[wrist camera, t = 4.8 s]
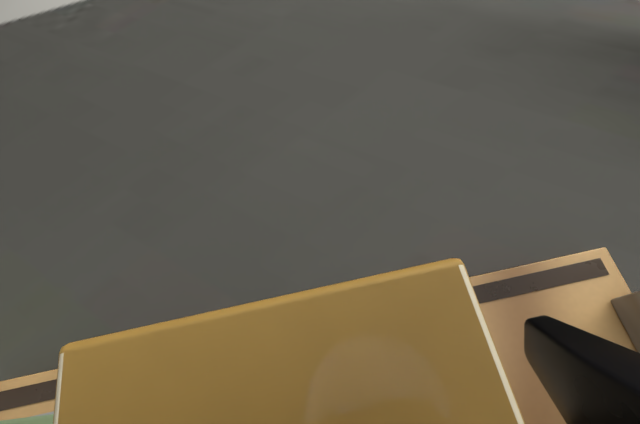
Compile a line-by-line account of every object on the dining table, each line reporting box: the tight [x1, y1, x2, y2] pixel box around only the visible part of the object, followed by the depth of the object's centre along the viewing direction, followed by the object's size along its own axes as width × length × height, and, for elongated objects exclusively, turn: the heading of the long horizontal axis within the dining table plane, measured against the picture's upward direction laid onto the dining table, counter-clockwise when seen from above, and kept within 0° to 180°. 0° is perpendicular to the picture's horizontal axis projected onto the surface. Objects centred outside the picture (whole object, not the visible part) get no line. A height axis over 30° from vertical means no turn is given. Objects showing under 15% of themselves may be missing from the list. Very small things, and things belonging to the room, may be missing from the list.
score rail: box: [0, 247, 640, 424], centre depth 12 cm, size 26×7×4 cm, turn 102°
